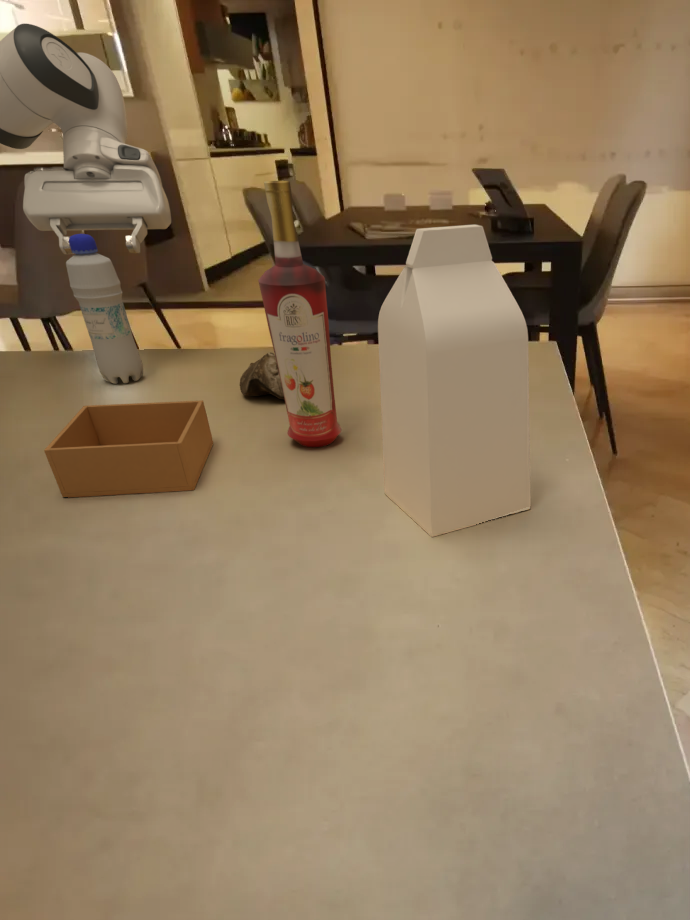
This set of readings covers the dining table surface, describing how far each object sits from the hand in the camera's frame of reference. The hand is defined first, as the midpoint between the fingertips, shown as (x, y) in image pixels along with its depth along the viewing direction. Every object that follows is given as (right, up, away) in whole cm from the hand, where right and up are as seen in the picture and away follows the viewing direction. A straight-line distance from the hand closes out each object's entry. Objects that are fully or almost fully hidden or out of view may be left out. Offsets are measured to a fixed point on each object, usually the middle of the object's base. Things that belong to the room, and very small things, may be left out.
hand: (100, 251), depth 105 cm
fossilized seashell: (+26, -22, 0) cm, 34 cm away
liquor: (+36, -33, -14) cm, 51 cm away
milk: (+55, -44, -28) cm, 76 cm away
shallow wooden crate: (+17, -38, -22) cm, 47 cm away
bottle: (+1, -18, +5) cm, 18 cm away
